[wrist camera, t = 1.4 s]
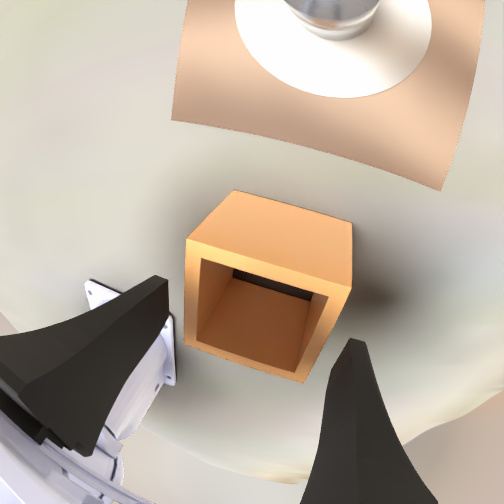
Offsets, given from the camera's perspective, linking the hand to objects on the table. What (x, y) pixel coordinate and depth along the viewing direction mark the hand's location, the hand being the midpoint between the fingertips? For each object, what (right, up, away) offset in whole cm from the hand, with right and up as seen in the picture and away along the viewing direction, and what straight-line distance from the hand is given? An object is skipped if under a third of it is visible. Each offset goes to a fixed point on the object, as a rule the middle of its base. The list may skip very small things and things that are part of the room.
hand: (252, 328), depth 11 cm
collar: (+1, +3, +4) cm, 5 cm away
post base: (+3, +12, -2) cm, 13 cm away
